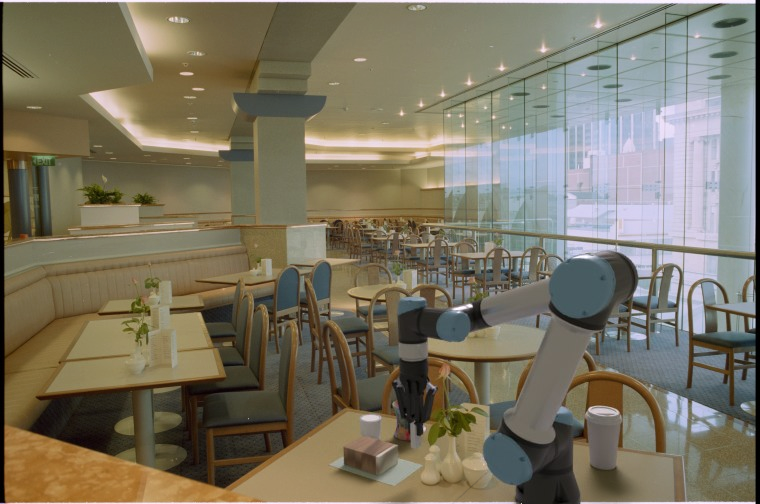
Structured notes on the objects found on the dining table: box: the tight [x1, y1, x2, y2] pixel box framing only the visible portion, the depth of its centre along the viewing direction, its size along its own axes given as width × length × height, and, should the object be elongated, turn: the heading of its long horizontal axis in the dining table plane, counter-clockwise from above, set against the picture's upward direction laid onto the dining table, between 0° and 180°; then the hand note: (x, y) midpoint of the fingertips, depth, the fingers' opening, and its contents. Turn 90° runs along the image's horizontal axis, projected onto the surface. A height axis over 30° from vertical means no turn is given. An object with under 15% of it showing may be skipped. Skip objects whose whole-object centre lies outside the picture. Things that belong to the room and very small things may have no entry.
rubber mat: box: [328, 455, 424, 487], centre depth 162 cm, size 22×14×1 cm, turn 54°
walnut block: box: [343, 436, 399, 475], centre depth 162 cm, size 5×9×12 cm
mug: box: [392, 399, 411, 442], centre depth 181 cm, size 12×9×11 cm
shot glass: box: [358, 413, 382, 440], centre depth 180 cm, size 7×7×7 cm
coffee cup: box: [584, 405, 623, 471], centre depth 160 cm, size 10×10×15 cm
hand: (416, 446), depth 153 cm, fingers closed
